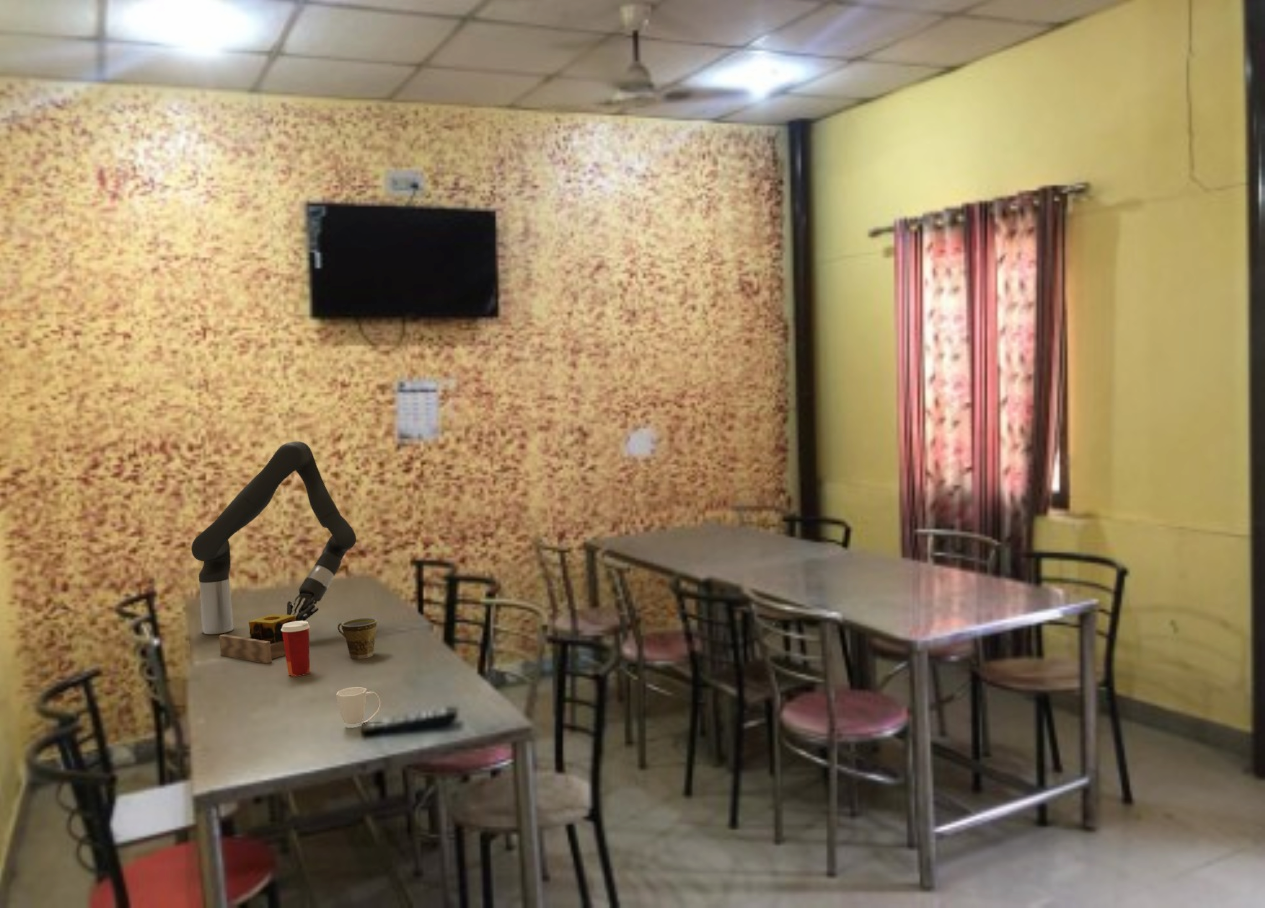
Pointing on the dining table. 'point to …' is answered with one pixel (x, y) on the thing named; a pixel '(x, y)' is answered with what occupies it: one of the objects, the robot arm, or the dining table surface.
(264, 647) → the brown rectangular block structure
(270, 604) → the dining table surface
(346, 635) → the ceramic cup
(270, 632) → the candle
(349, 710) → the cup
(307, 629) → the paper cup
